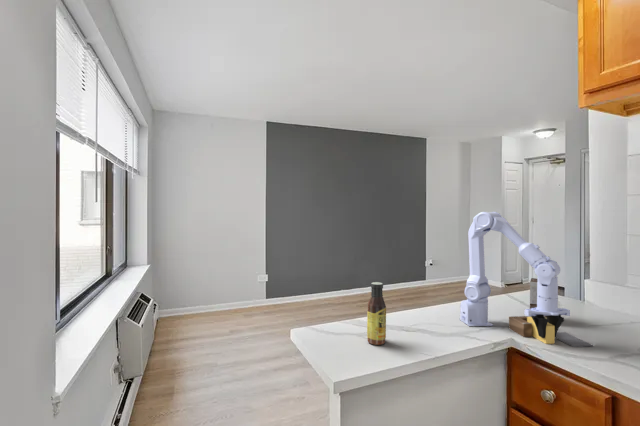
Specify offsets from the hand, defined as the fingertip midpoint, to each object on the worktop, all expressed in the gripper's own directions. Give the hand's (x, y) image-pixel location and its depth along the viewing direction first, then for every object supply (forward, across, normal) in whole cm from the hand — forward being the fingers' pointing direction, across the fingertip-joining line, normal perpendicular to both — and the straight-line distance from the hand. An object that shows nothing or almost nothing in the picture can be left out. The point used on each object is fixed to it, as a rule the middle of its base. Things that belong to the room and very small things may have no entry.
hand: (546, 336), depth 108 cm
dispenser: (+2, 0, +8) cm, 9 cm away
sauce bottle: (+2, -58, +3) cm, 58 cm away
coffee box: (+2, +14, +21) cm, 25 cm away
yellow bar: (+2, 0, +3) cm, 3 cm away
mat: (+2, +9, +1) cm, 9 cm away
